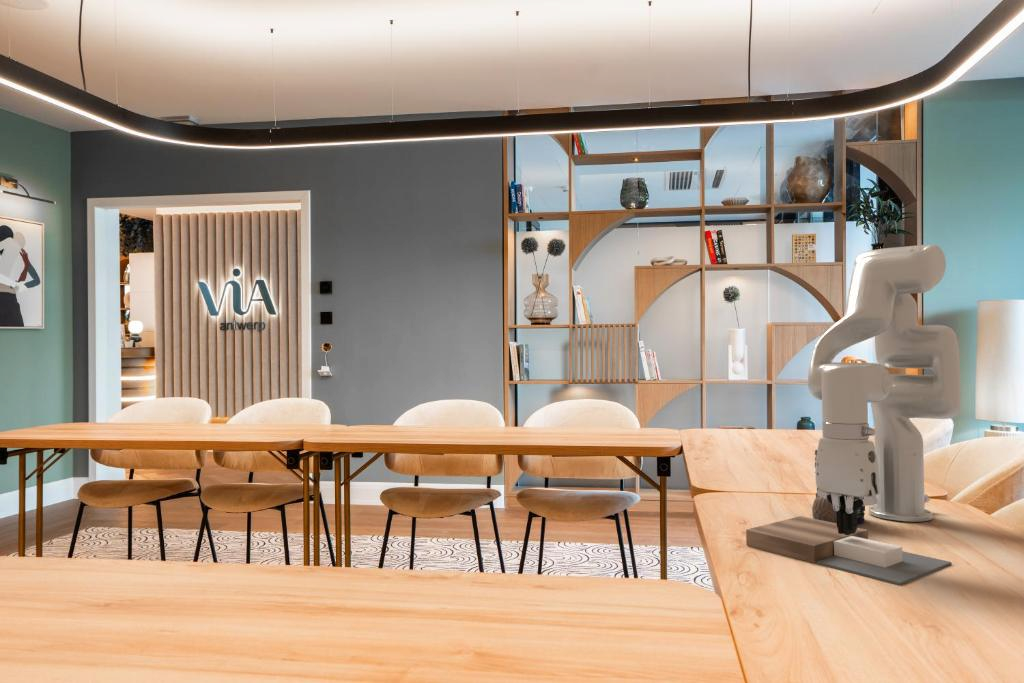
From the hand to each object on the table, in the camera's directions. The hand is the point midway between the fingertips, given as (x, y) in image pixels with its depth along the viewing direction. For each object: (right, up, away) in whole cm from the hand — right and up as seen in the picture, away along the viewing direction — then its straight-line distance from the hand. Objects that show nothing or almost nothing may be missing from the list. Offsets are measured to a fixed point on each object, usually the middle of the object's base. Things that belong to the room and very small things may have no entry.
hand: (847, 533), depth 125 cm
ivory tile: (+2, -4, -3) cm, 5 cm away
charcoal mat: (+4, -4, -5) cm, 8 cm away
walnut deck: (-5, -4, +6) cm, 9 cm away
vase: (+5, -5, +18) cm, 20 cm away
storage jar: (+11, -5, +26) cm, 29 cm away
